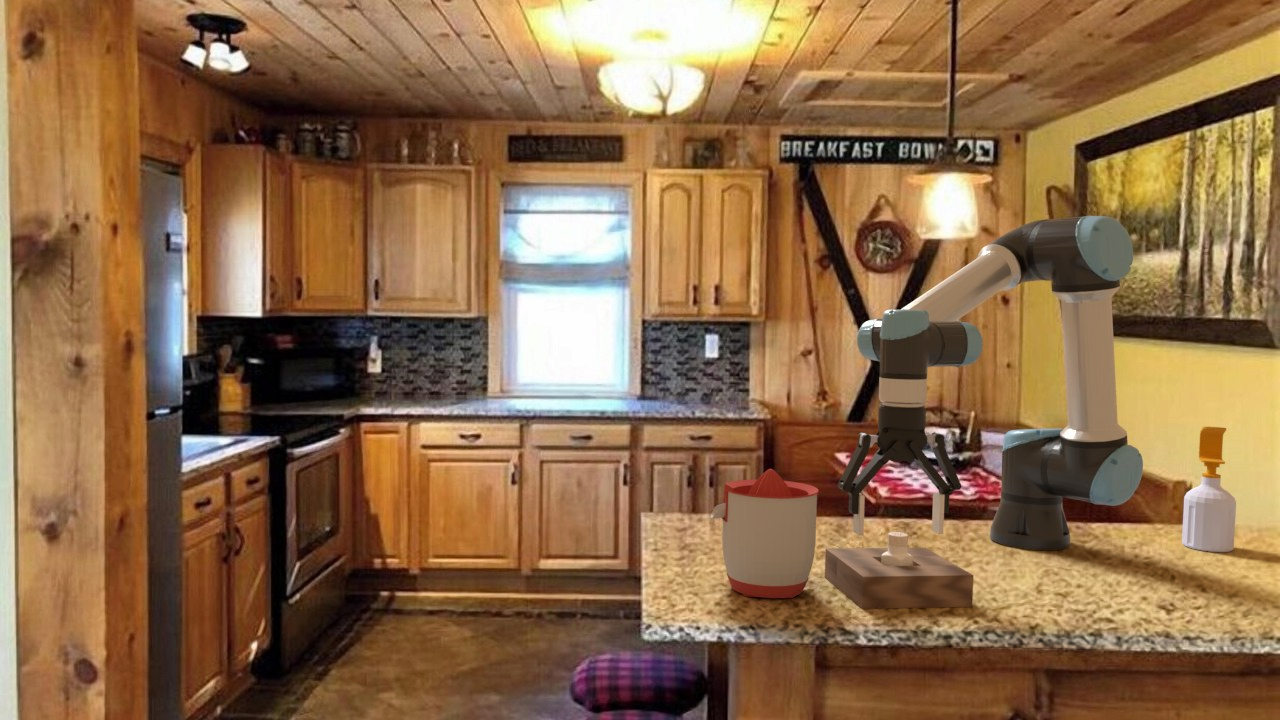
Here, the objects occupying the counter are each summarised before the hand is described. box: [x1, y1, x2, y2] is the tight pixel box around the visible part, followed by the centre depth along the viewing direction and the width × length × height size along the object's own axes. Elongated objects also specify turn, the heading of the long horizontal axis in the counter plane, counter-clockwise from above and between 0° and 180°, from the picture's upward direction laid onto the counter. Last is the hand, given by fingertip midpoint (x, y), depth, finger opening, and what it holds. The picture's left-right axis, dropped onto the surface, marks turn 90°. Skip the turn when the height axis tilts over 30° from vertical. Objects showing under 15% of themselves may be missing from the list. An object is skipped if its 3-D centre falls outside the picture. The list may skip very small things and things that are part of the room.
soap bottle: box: [1181, 426, 1237, 553], centre depth 202 cm, size 9×9×25 cm
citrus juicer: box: [710, 468, 820, 599], centre depth 163 cm, size 16×17×20 cm
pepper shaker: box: [881, 531, 913, 566], centre depth 165 cm, size 4×4×10 cm
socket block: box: [824, 547, 974, 610], centre depth 165 cm, size 18×18×5 cm
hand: (898, 533), depth 165 cm, fingers open, 13 cm apart
